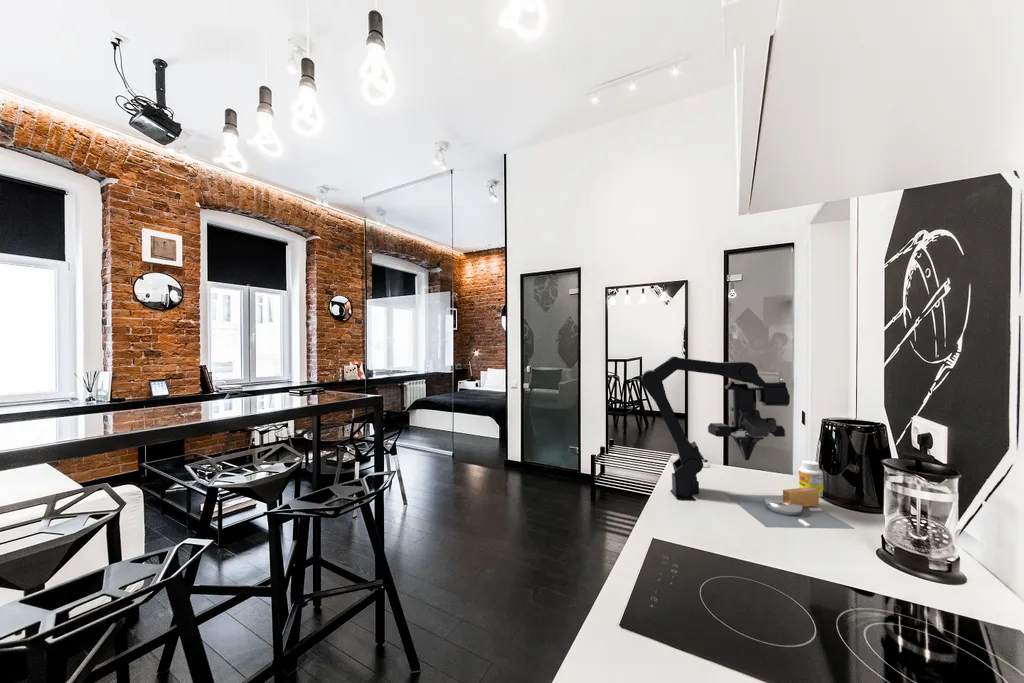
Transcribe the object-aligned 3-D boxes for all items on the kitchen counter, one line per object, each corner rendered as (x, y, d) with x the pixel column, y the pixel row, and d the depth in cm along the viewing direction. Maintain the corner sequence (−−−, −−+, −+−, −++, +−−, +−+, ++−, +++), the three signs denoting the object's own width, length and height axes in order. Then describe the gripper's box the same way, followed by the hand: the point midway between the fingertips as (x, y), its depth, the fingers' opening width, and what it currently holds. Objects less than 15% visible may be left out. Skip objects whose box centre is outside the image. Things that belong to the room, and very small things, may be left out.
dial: (783, 517, 96) (783, 498, 96) (758, 504, 104) (757, 487, 104) (830, 512, 98) (829, 493, 98) (801, 500, 106) (801, 483, 106)
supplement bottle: (797, 492, 115) (795, 458, 115) (819, 495, 113) (818, 460, 113) (803, 499, 110) (801, 464, 110) (827, 502, 108) (825, 466, 108)
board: (766, 532, 91) (766, 525, 91) (726, 499, 111) (725, 493, 111) (855, 533, 90) (854, 526, 90) (798, 499, 110) (797, 494, 110)
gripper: (724, 410, 102) (726, 468, 102) (797, 409, 101) (799, 469, 100) (706, 404, 113) (708, 456, 113) (772, 403, 112) (774, 456, 111)
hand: (746, 459), depth 109 cm, fingers closed
